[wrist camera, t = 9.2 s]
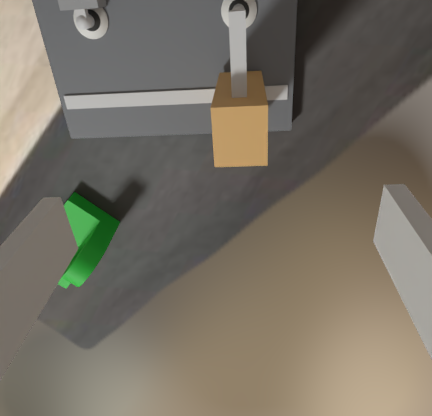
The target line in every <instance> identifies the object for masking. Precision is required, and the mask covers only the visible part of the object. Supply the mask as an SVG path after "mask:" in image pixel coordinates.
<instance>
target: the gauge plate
mask: <svg viewBox="0 0 432 416" xmlns="http://www.w3.org/2000/svg"><path fill="white" fill-rule="evenodd" d="M32 2H33V6H34V9H35V13H36V16H37V20H38V23H39V27H40V30H41V34H42V37H43V41H44V44H45V48H46V51H47V55H48V59H49V62H50V66H51V69H52V73H53V76H54V80H55V83H56V87H57V90H58V94H59V97H60V101H61V104H62V108H63V111H64V115H65V119H66V122H67V126H68V129H69V133H70V136H71V139H75V138H102V137H129V136H156V135H183V134H210V133H212V122H211V104H212V100H213V96H214V92H215V88H216V84H217V81H218V77H219V73H223V72H231V65H230V40H229V15H228V12H229V11H230V10H232V9H233V7H234V6H235V5H236V4H242V5H243V6H244V8H245V10H246V63H247V71H262V76H263V82H264V87H265V92H266V97H267V102H268V131H290V130H291V126H292V105H293V84H294V62H295V41H296V20H297V0H32Z"/></svg>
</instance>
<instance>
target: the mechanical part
mask: <svg viewBox="0 0 432 416" xmlns="http://www.w3.org/2000/svg"><path fill="white" fill-rule="evenodd" d="M64 209H65V211H66V214H67V217H68V220H69V223H70V226H71V229H72V231H73V234H74V237H75V240H76V243H77V246H78V250H77V252H76V254H75V255H74V257H73V259H72V260H71V262H70V264H69V265H68V267H67V269H66V270H65V272H64V274H63V276H62V277H61V279H60V281H59V282H58V284H59V285H60V286H62V287H64V288H67V287H68V286H69V285H70V283H72V284H74V285H75V286H77V287H80V286H81V285H82V284H83V283H84V282H85V280H86V279H87V278H88V277H89V275H90V274H91V273H92V271H93V270H94V269H95V267H96V266H97V264H98V263H99V261H100V260H101V258H102V256H103V255H104V253H105V251H106V249H107V247H108V245H109V243H110V241H111V239H112V237H113V235H114V233H115V231H116V229H117V227H118V225H119V224H120V222H119V221H118V220H116V219H115V218H113V217H112V216H110V215H109V214H107V213H106V212H104V211H103V210H101V209H100V208H98V207H97V206H95V205H94V204H92V203H91V202H89V201H88V200H86V199H85V198H83V197H82V196H80V195H79V194H77V193H76V192H74V193H73V194H72V195H71V197H70V198H69V199H68V200H67V202H66V203H65V205H64Z"/></svg>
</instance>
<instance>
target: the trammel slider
mask: <svg viewBox="0 0 432 416" xmlns="http://www.w3.org/2000/svg"><path fill="white" fill-rule="evenodd" d="M228 15H229V40H230V65H231V72H223V73H219V77H218V81H217V84H216V88H215V92H214V96H213V100H212V104H211V122H212V136H213V151H214V165H215V167H237V166H267V158H268V102H267V97H266V92H265V87H264V82H263V76H262V71H247V63H246V10H245V8H244V6H243V5H242V4H236V5H235V6H234V7H233V9H232V10H230V11H229V12H228Z"/></svg>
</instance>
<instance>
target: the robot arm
mask: <svg viewBox="0 0 432 416" xmlns="http://www.w3.org/2000/svg"><path fill="white" fill-rule="evenodd" d="M373 242H374V244H375V246H376V248H377V250H378V252H379V254H380V256H381V258H382V260H383V262H384V264H385V266H386V268H387V270H388V272H389V274H390V276H391V278H392V280H393V282H394V284H395V286H396V288H397V290H398V292H399V294H400V297H401V299H402V301H403V302H404V304H405V307H406V309H407V311H408V313H409V315H410V317H411V319H412V321H413V323H414V325H415V327H416V329H417V331H418V333H419V335H420V337H421V339H422V341H423V343H424V345H425V347H426V349H427V351H428V353H429V355H430V357H431V359H432V219H431V218H430V216H429V215H428V214H427V212H426V211H425V210H424V209H423V207H422V206H421V205H420V204H419V202H418V201H417V200H416V198H415V197H414V196H413V195H412V193H411V192H410V191H409V189H408V188H407V187H406V186H405V184H396V185H384V188H383V194H382V198H381V203H380V209H379V214H378V219H377V224H376V230H375V235H374V241H373ZM77 250H78V246H77V243H76V240H75V237H74V234H73V231H72V229H71V226H70V223H69V220H68V217H67V214H66V211H65V209H64V206H63V203H62V200H61V197H48V198H42V199H41V201H40V202H39V203H38V204H37V205H36V206H35V207H34V209H33V210H32V211H31V212H30V213H29V214H28V215H27V216H26V218H25V219H24V220H23V221H22V222H21V223H20V224H19V226H18V227H17V228H16V229H15V230H14V231H13V232H12V233H11V235H10V236H9V237H8V238H7V239H6V240H5V241H4V242H3V244H2V245H1V246H0V380H1V379H2V377H3V375H4V374H5V372H6V370H7V369H8V367H9V365H10V364H11V362H12V360H13V358H14V357H15V355H16V353H17V352H18V350H19V348H20V347H21V345H22V343H23V341H24V340H25V338H26V336H27V335H28V333H29V331H30V330H31V328H32V326H33V324H34V323H35V321H36V320H37V318H38V316H39V314H40V313H41V311H42V309H43V308H44V306H45V304H46V303H47V301H48V299H49V298H50V296H51V294H52V292H53V291H54V289H55V287H56V286H57V284H58V282H59V281H60V279H61V277H62V276H63V274H64V272H65V270H66V269H67V267H68V265H69V264H70V262H71V260H72V259H73V257H74V255H75V254H76V252H77Z"/></svg>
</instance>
